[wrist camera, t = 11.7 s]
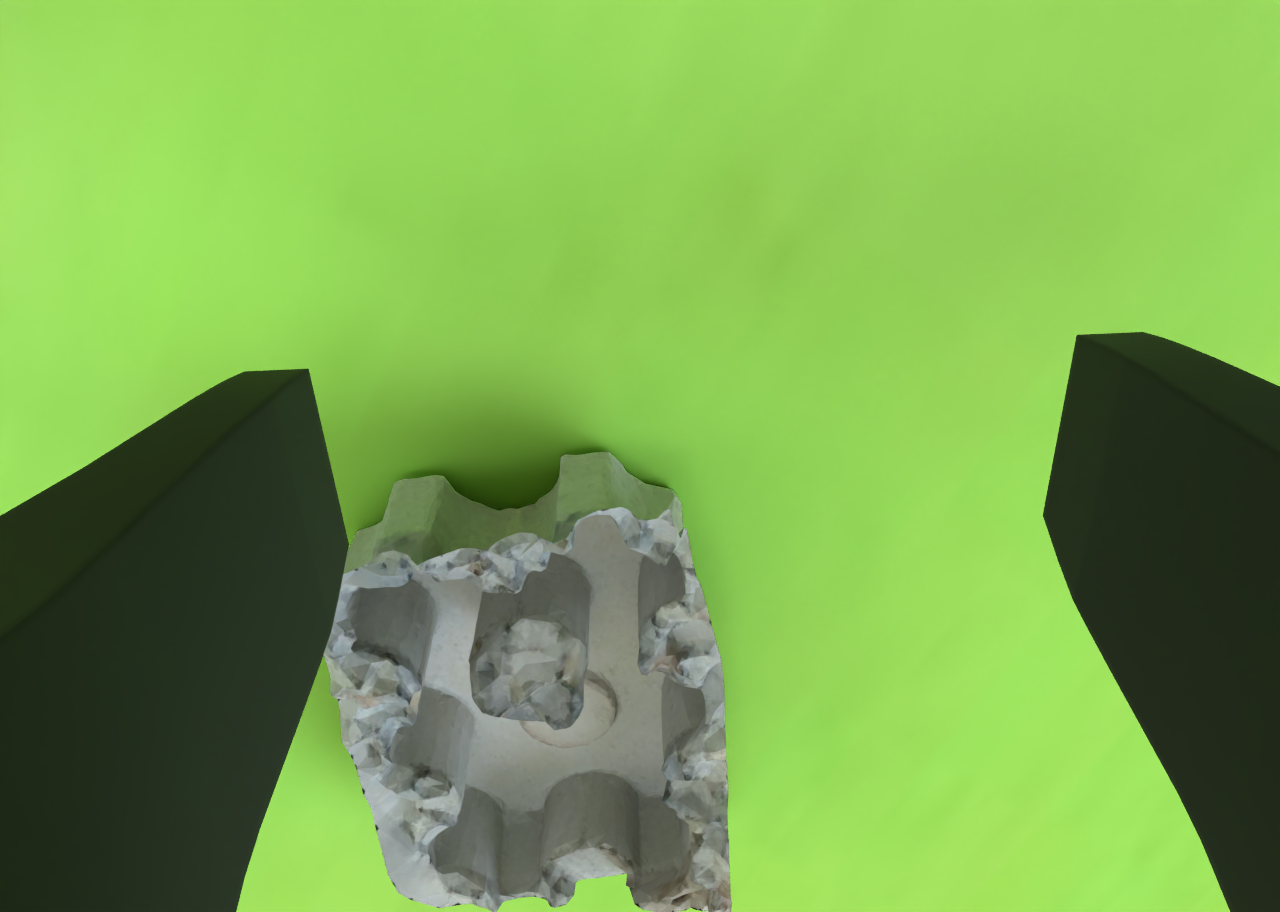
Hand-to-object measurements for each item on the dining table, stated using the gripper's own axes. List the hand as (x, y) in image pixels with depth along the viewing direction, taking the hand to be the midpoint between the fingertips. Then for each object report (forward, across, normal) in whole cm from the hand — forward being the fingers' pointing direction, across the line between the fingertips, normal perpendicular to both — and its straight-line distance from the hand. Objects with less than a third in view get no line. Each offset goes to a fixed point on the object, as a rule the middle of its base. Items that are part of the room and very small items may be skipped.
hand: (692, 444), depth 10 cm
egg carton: (+10, +3, +11) cm, 15 cm away
